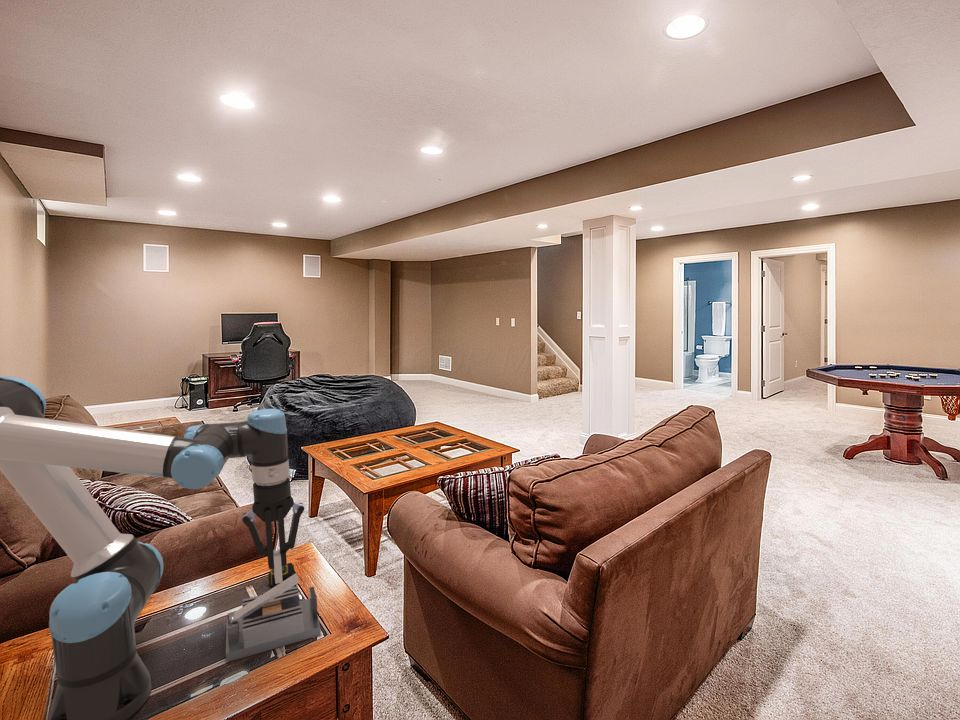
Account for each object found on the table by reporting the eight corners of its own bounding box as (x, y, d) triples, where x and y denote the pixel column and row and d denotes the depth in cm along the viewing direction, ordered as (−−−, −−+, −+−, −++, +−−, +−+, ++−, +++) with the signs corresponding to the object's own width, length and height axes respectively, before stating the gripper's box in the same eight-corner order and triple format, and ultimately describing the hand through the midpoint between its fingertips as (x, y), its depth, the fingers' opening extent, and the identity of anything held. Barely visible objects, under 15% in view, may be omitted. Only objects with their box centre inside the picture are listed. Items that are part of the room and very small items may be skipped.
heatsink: (226, 662, 103) (223, 631, 102) (227, 627, 114) (225, 599, 113) (320, 635, 112) (319, 606, 111) (313, 605, 122) (312, 578, 121)
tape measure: (298, 585, 131) (297, 572, 130) (270, 593, 128) (269, 579, 127) (294, 572, 137) (293, 560, 136) (267, 579, 134) (266, 566, 133)
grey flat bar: (231, 627, 107) (227, 623, 107) (231, 619, 110) (227, 615, 110) (299, 583, 113) (296, 578, 112) (298, 576, 115) (295, 572, 115)
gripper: (238, 491, 103) (247, 596, 106) (304, 480, 108) (311, 580, 111) (238, 479, 109) (246, 578, 112) (300, 469, 115) (306, 564, 118)
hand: (278, 579), depth 112 cm, fingers closed
